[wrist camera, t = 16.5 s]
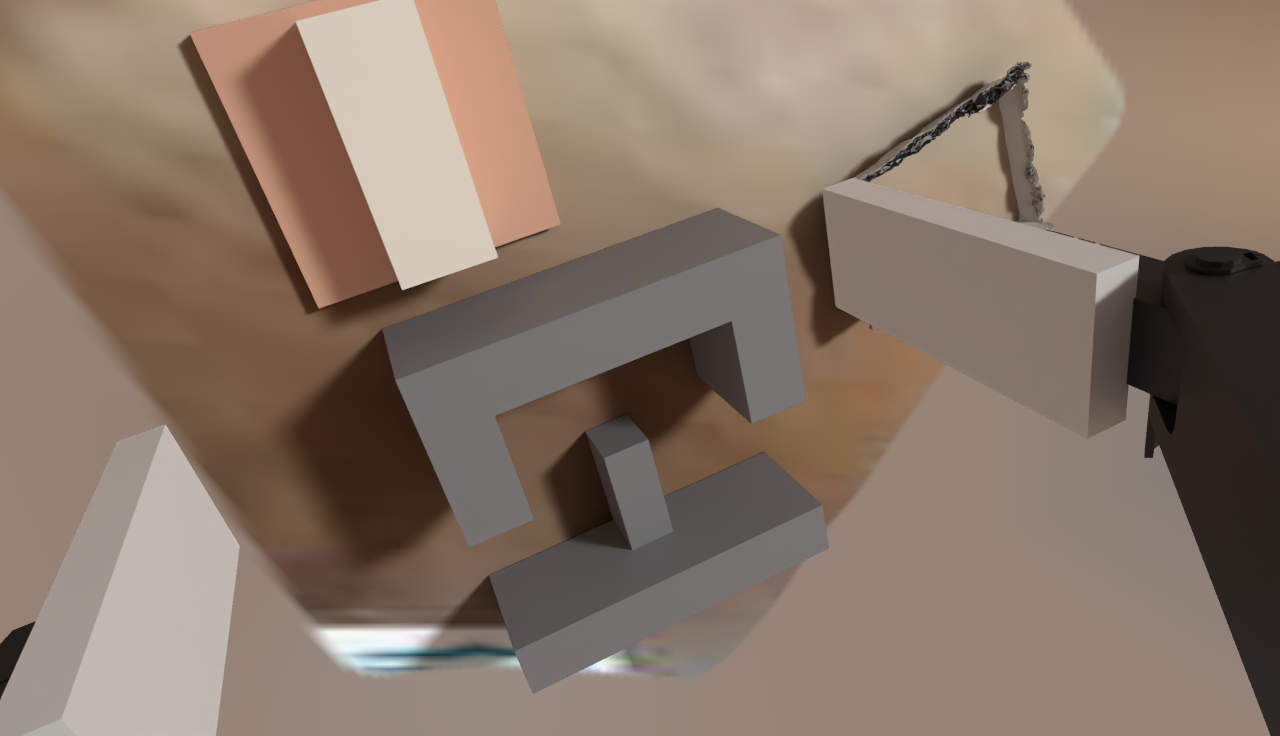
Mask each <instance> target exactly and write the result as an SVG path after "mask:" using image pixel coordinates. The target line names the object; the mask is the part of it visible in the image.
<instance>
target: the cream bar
mask: <svg viewBox="0 0 1280 736" xmlns="http://www.w3.org/2000/svg"><path fill="white" fill-rule="evenodd" d="M296 24H297V27H298V29H299V32H300V34H301V37H302V39H303V42H304V44H305V47H306V49H307V52H308V54H309V57H310V59H311V62H312V64H313V67H314V69H315V72H316V74H317V77H318V79H319V82H320V84H321V87H322V89H323V92H324V94H325V97H326V100H327V102H328V105H329V107H330V110H331V112H332V115H333V117H334V120H335V122H336V125H337V127H338V130H339V132H340V135H341V137H342V140H343V142H344V145H345V147H346V150H347V152H348V155H349V157H350V160H351V162H352V165H353V168H354V170H355V173H356V175H357V178H358V180H359V183H360V185H361V188H362V190H363V193H364V195H365V198H366V200H367V203H368V205H369V208H370V210H371V213H372V215H373V218H374V220H375V223H376V225H377V228H378V230H379V233H380V235H381V238H382V241H383V243H384V246H385V248H386V251H387V253H388V256H389V258H390V261H391V263H392V266H393V268H394V271H395V273H396V276H397V278H398V281H399V283H400V286H401V288H402V290H405V289H408V288H410V287H413V286H416V285H419V284H422V283H425V282H428V281H431V280H434V279H437V278H440V277H443V276H446V275H449V274H452V273H454V272H457V271H460V270H463V269H466V268H469V267H472V266H475V265H478V264H481V263H484V262H487V261H490V260H493V259H496V258H498V256H497V253H496V250H495V247H494V244H493V241H492V238H491V235H490V232H489V228H488V225H487V222H486V219H485V216H484V213H483V210H482V207H481V204H480V201H479V198H478V195H477V192H476V189H475V186H474V183H473V180H472V177H471V174H470V170H469V167H468V164H467V161H466V158H465V155H464V152H463V149H462V146H461V143H460V140H459V137H458V134H457V131H456V128H455V125H454V122H453V119H452V115H451V112H450V109H449V106H448V103H447V100H446V97H445V94H444V91H443V88H442V85H441V82H440V79H439V76H438V73H437V70H436V67H435V64H434V60H433V57H432V54H431V51H430V48H429V45H428V42H427V39H426V36H425V33H424V30H423V27H422V24H421V21H420V18H419V15H418V12H417V9H416V6H415V2H414V0H378V1H374V2H370V3H366V4H362V5H358V6H354V7H350V8H346V9H342V10H338V11H334V12H330V13H326V14H322V15H318V16H314V17H310V18H306V19H302V20H298V21H296Z"/></svg>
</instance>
